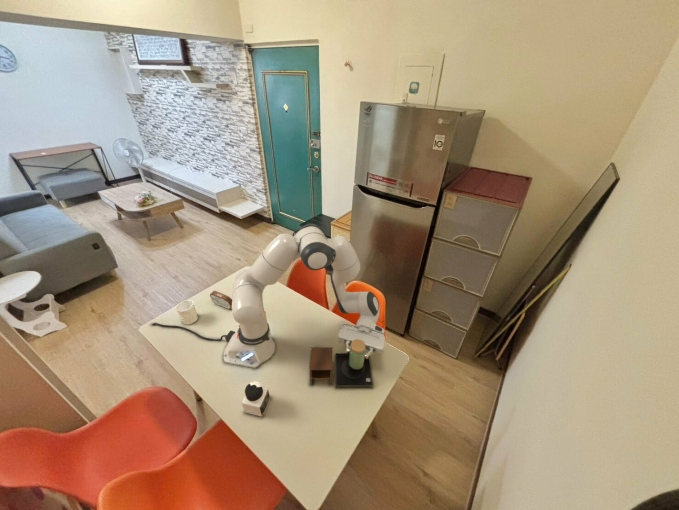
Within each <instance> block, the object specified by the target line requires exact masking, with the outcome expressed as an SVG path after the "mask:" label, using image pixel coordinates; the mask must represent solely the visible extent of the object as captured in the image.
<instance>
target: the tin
mask: <svg viewBox="0 0 679 510" xmlns="http://www.w3.org/2000/svg"><path fill="white" fill-rule="evenodd" d="M209 297H210V300H211V301H212V302H213V303H214V304H216V305H217V306H219V307H222V308H224V309H227V310H232V297H230V296H229V295H226V294H225V293H222V292H220V291H217V290H213V291H212V292H211V293H210V294H209Z"/></svg>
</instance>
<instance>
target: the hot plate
mask: <svg viewBox="0 0 679 510" xmlns="http://www.w3.org/2000/svg"><path fill="white" fill-rule="evenodd" d="M334 356H335V360H334V361H335V365H334V366H335V389H373V386H374V385H373V377H372V370H371V362H370V356H368V359H366V358H365V359H364V365H363V367H362V368H360V369H353V368H352V367H351V366H350V365H349V353H346V352H335V355H334Z"/></svg>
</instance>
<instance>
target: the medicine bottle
mask: <svg viewBox="0 0 679 510" xmlns="http://www.w3.org/2000/svg"><path fill="white" fill-rule="evenodd" d="M244 394H245V395H244V397H243V399H242V401H241V404H242V407H243V410H244V413H245V414H248V415H249V414H250V415H254V416H258V417H263V416H264V414H265V412H266V410H267V407H268V405H269V403H270V399H271V395H270V392H269V388H268V387H263V385H262V383H261V382H259V381H256V380H254V381H251V382H249V383H248V384H247V385H246V386H245V388H244Z"/></svg>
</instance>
